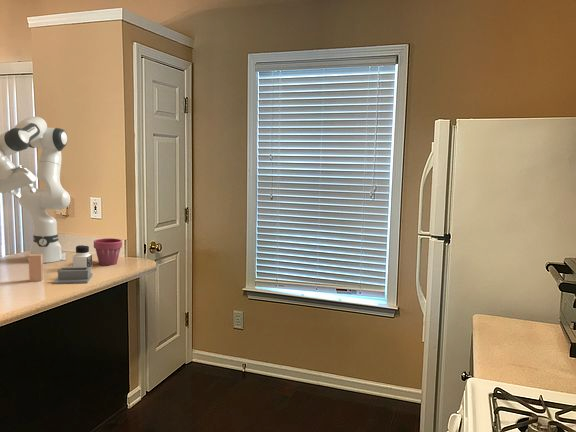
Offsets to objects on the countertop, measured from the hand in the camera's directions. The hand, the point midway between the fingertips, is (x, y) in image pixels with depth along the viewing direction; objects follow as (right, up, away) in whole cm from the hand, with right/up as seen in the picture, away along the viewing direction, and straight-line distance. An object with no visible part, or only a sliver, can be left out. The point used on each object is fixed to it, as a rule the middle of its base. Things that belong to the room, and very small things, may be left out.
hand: (26, 194), depth 211 cm
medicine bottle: (+15, -37, +24) cm, 47 cm away
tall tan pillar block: (+5, -40, 0) cm, 40 cm away
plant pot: (+24, -36, +36) cm, 56 cm away
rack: (+20, -40, +3) cm, 45 cm away
